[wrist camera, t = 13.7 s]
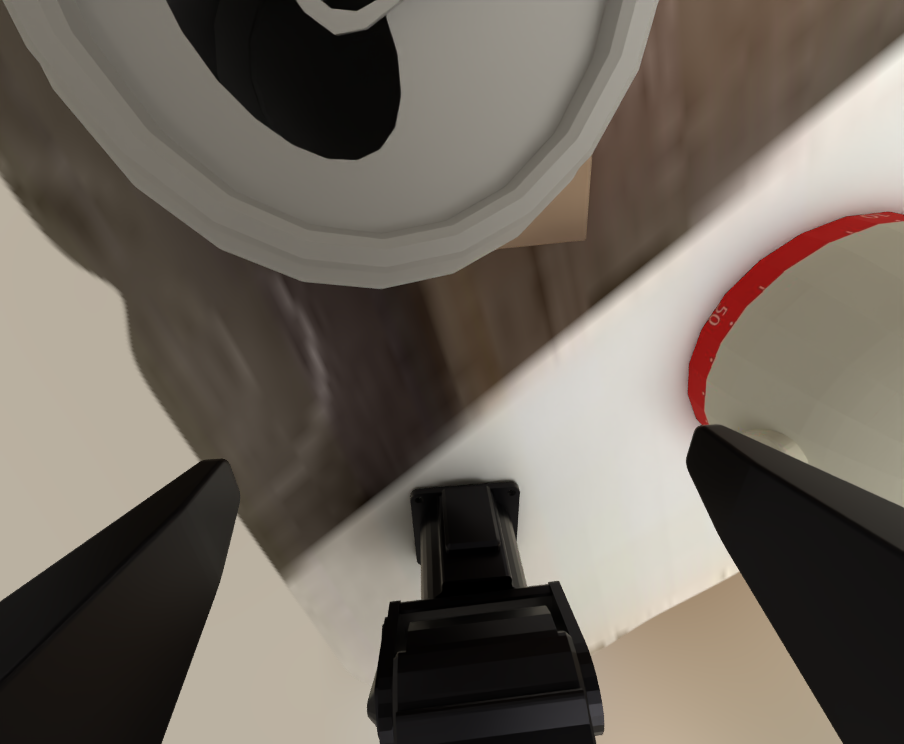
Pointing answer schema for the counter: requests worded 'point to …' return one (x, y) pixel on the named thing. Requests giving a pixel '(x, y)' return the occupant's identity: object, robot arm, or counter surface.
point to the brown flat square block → (561, 215)
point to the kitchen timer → (815, 353)
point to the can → (344, 117)
